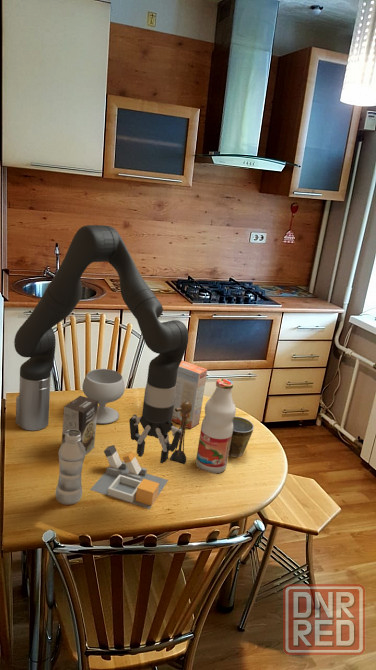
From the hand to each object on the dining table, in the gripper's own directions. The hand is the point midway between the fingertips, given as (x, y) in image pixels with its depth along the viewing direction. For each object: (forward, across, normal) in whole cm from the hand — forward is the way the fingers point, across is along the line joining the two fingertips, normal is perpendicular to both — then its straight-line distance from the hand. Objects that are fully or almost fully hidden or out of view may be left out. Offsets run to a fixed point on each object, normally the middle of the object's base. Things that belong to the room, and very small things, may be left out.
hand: (151, 458), depth 132 cm
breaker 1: (+11, -12, +7) cm, 18 cm away
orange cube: (+12, 0, 0) cm, 12 cm away
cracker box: (+14, -7, +47) cm, 50 cm away
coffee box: (+14, -27, +12) cm, 33 cm away
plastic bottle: (+14, -18, -9) cm, 24 cm away
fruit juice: (+14, +11, +25) cm, 31 cm away
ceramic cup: (+14, +14, +37) cm, 42 cm away
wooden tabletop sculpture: (+14, +1, +22) cm, 26 cm away
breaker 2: (+11, -6, +7) cm, 15 cm away
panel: (+13, -6, +3) cm, 15 cm away
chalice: (+14, -31, +35) cm, 49 cm away
